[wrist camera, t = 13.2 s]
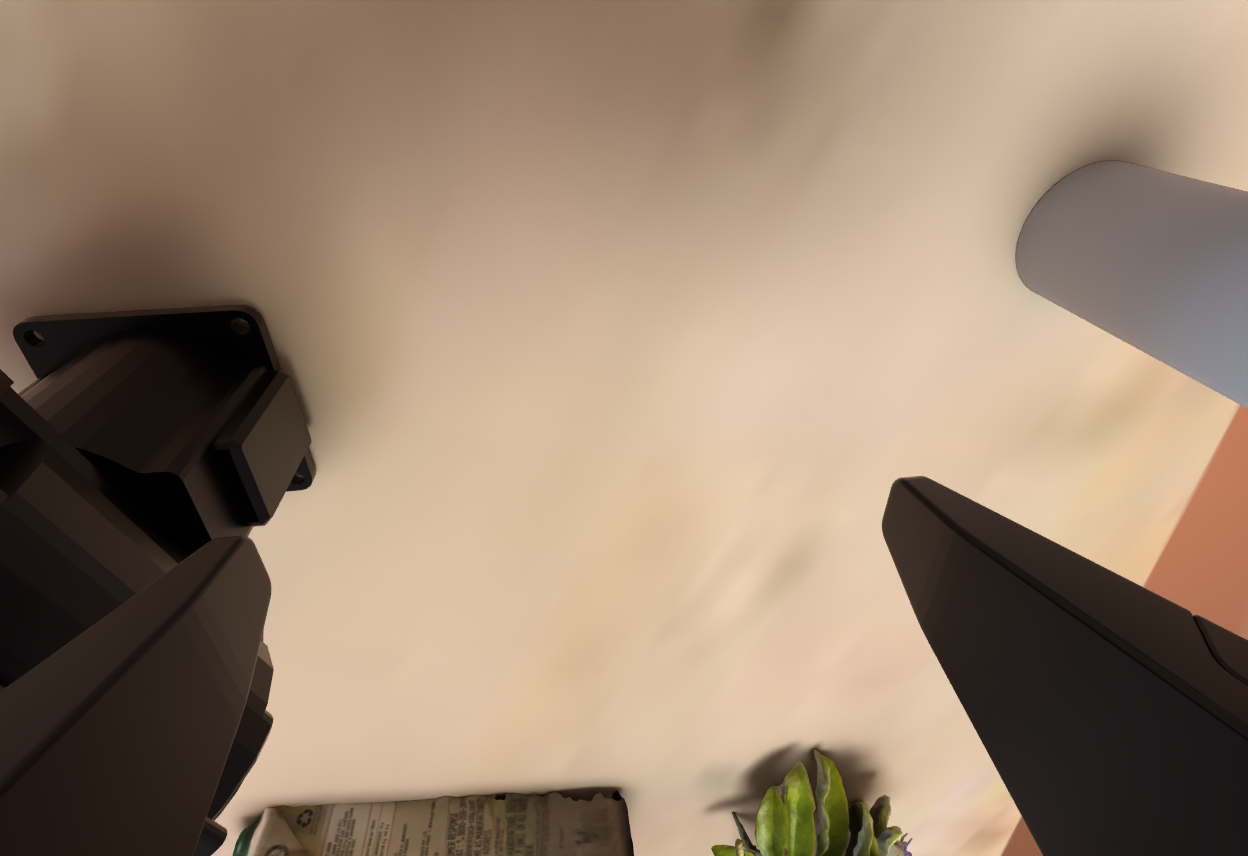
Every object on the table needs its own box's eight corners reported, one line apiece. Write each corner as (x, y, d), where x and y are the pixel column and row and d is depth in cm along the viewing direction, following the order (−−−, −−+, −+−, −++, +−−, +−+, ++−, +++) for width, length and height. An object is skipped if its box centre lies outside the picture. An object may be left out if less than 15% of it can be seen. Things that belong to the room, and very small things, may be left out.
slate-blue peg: (998, 301, 22) (1291, 478, 13) (1042, 163, 19) (1435, 273, 11) (1117, 293, 22) (1474, 460, 14) (1175, 157, 20) (1650, 260, 11)
